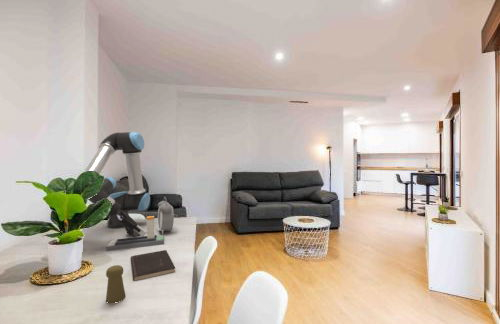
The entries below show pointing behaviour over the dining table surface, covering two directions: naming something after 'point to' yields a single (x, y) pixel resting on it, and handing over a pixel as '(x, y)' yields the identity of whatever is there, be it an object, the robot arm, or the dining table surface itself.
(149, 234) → the breaker handle
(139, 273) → the hardcover book
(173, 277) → the dining table surface
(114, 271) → the cork
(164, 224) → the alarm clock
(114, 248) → the panel
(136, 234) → the electrical switch
